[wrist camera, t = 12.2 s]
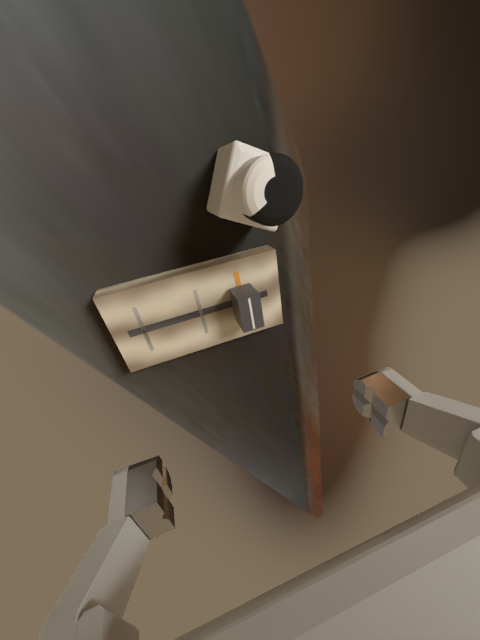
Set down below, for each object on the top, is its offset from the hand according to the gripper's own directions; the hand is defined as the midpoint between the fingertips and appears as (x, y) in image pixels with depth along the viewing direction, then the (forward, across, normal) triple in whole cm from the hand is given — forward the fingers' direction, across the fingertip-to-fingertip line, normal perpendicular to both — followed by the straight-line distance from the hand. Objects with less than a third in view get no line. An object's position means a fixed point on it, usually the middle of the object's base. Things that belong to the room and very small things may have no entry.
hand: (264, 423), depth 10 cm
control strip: (+29, 0, +8) cm, 30 cm away
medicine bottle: (+29, -9, -6) cm, 31 cm away
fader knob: (+26, -6, +8) cm, 28 cm away
